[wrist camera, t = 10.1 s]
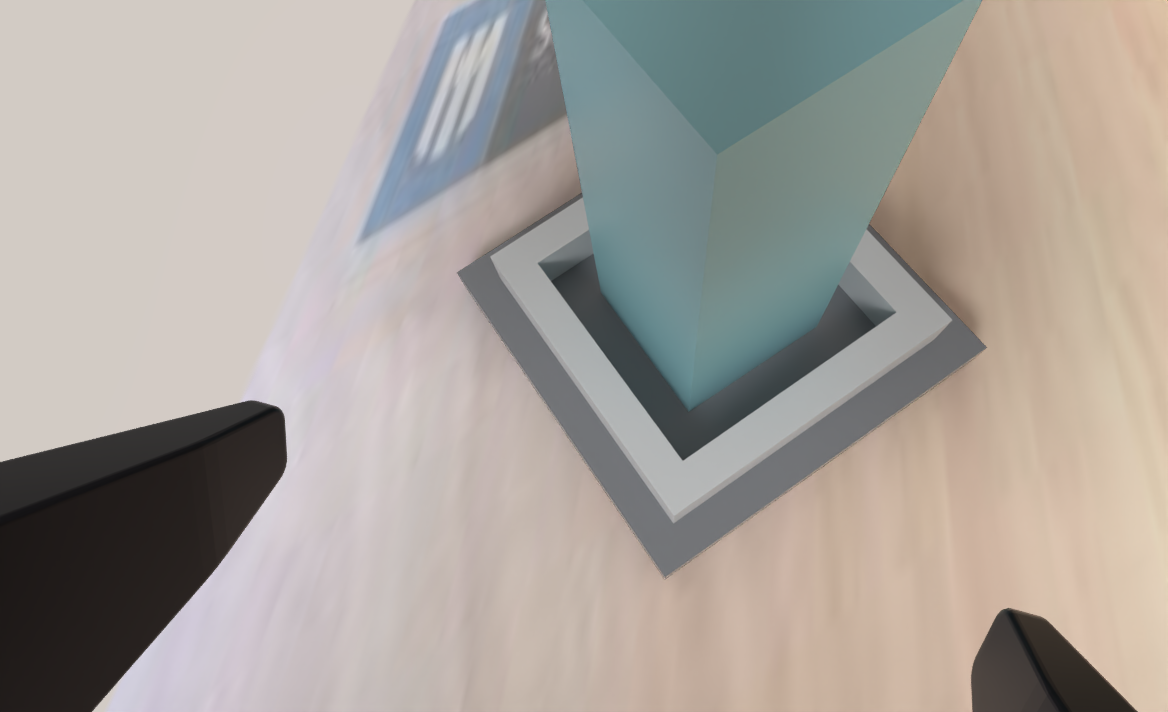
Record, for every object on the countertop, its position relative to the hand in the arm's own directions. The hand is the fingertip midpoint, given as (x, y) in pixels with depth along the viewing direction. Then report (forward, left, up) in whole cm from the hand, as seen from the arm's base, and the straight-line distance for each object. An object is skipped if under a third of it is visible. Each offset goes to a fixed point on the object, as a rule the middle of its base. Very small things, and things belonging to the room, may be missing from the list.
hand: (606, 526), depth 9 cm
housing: (+4, +7, -11) cm, 14 cm away
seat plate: (+4, +7, -12) cm, 15 cm away
